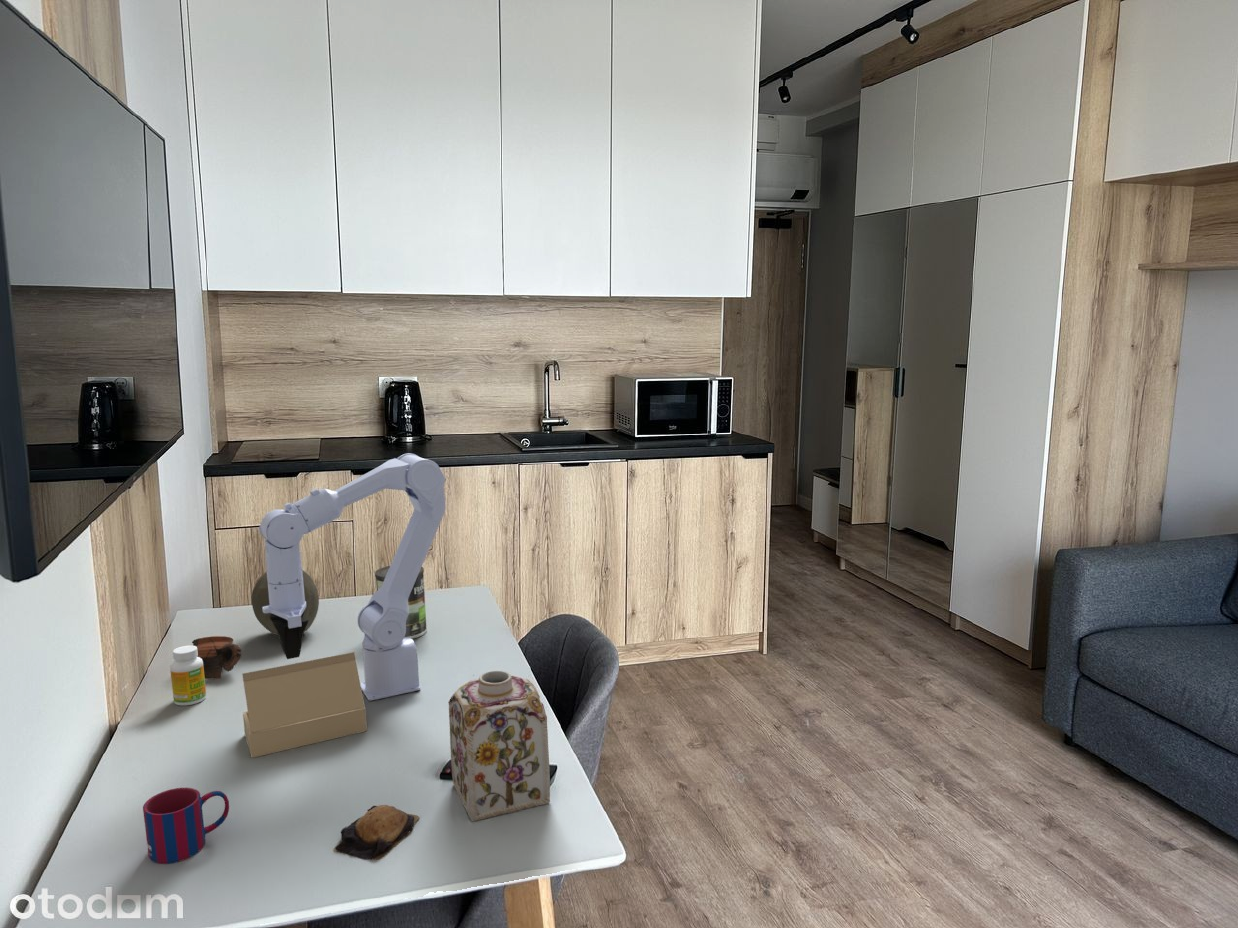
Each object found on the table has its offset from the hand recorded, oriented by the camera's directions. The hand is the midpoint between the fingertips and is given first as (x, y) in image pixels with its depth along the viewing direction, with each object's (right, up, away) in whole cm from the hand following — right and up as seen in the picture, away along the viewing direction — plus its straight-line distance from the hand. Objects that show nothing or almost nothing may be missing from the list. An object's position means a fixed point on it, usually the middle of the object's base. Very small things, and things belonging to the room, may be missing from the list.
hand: (291, 654), depth 155 cm
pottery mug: (-22, -8, +20) cm, 31 cm away
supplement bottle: (-21, -10, +7) cm, 24 cm away
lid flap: (+5, -4, -9) cm, 12 cm away
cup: (0, -17, -37) cm, 41 cm away
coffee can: (+10, -4, +40) cm, 41 cm away
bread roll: (+25, -17, -35) cm, 46 cm away
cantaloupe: (-15, -4, +40) cm, 43 cm away
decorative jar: (+40, -15, -26) cm, 50 cm away
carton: (+5, -12, -6) cm, 14 cm away
